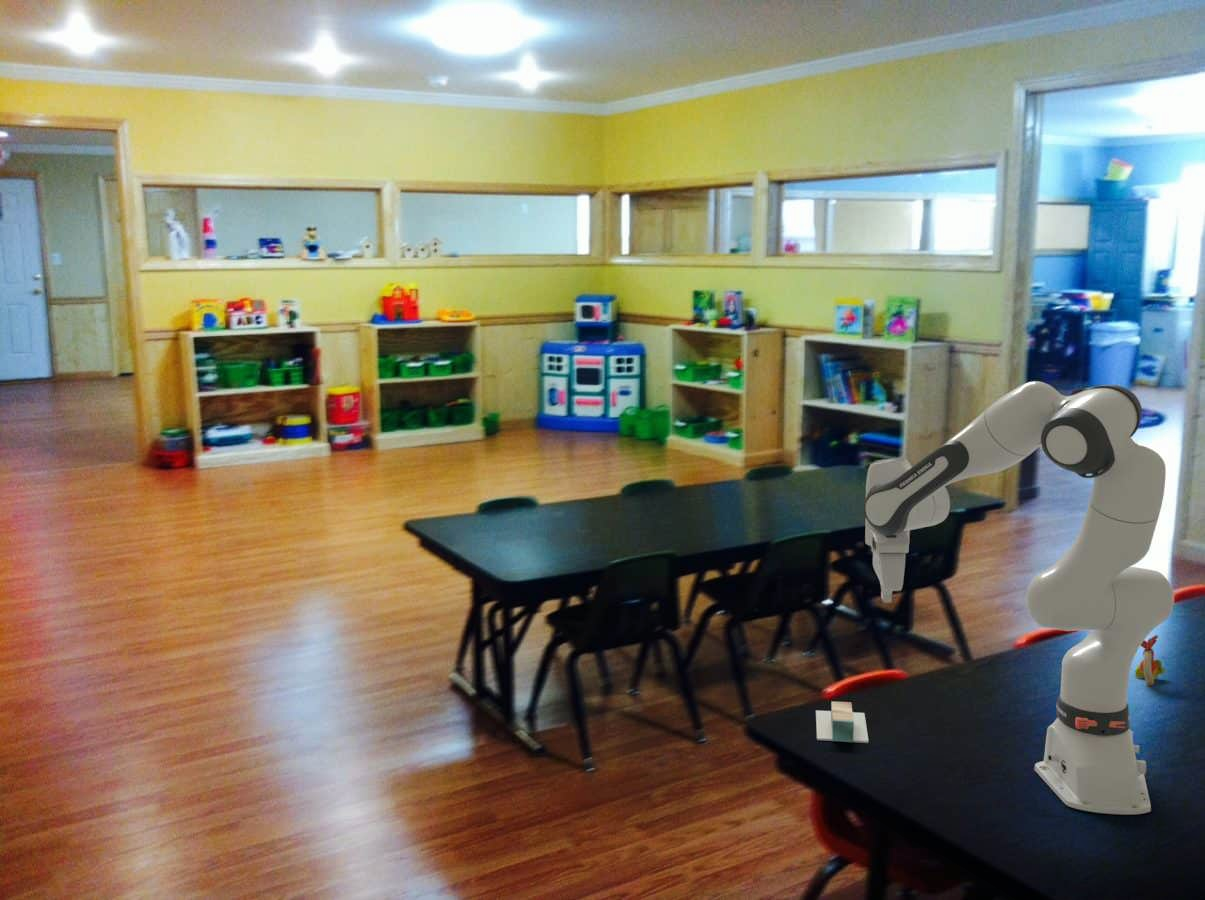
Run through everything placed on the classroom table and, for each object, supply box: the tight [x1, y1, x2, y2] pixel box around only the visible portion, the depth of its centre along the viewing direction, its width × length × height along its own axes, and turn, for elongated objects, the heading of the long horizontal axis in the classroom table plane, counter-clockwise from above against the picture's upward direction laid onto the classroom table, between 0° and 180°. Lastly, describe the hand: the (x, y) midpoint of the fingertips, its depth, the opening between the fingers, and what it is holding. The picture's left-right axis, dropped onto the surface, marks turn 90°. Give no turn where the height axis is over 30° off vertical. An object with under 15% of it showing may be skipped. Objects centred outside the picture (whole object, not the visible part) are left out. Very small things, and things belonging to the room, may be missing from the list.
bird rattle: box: [1134, 634, 1166, 687], centre depth 244 cm, size 6×11×9 cm
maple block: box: [830, 700, 854, 742], centre depth 220 cm, size 4×4×10 cm
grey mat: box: [815, 710, 869, 744], centre depth 223 cm, size 14×10×1 cm
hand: (886, 600), depth 227 cm, fingers closed
